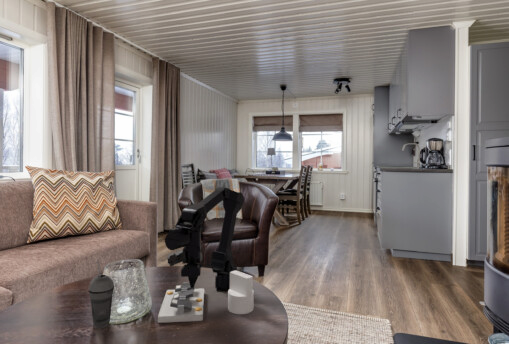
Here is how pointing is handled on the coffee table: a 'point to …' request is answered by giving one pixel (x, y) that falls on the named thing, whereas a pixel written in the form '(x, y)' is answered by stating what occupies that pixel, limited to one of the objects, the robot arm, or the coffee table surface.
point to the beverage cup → (101, 299)
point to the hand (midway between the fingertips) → (192, 287)
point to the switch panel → (182, 307)
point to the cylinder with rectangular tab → (240, 293)
